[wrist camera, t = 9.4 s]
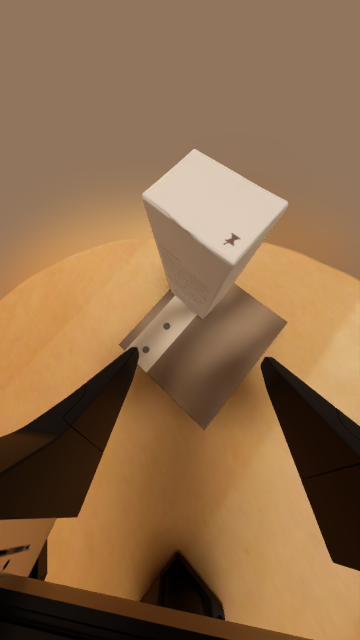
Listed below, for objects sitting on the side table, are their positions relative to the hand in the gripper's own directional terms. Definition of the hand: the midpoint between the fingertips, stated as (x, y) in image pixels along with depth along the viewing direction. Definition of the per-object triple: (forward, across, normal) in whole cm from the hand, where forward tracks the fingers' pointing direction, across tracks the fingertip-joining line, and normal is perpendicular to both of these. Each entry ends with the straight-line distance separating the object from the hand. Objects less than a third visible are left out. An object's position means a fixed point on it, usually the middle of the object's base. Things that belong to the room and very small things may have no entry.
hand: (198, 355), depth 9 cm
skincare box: (+11, 0, 0) cm, 11 cm away
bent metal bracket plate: (+8, -1, +5) cm, 9 cm away
